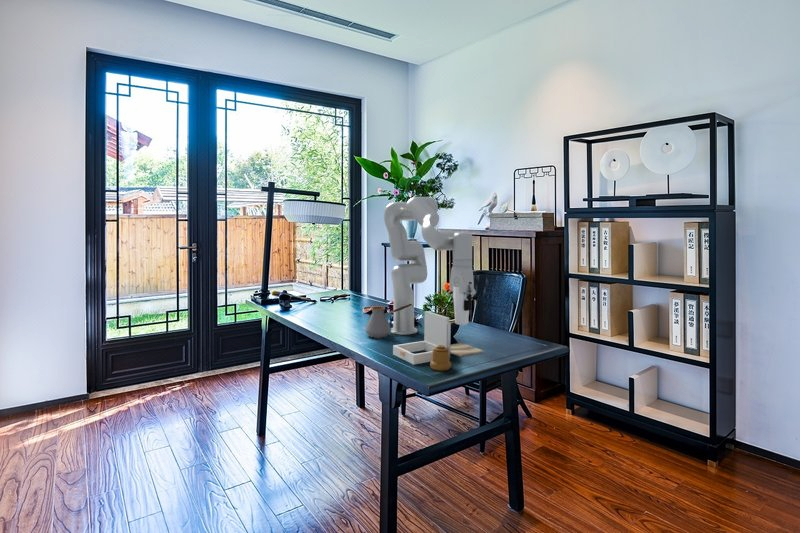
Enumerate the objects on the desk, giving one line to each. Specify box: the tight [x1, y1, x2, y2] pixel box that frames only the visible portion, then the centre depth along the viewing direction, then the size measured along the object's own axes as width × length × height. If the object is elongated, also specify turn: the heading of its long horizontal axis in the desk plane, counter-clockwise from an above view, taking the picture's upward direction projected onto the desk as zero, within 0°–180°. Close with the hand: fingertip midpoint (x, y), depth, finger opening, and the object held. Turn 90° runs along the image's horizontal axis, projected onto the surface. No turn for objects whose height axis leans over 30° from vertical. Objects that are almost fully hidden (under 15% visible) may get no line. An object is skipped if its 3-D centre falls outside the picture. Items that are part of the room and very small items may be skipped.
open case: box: [392, 310, 452, 366], centre depth 180 cm, size 16×16×16 cm
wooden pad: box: [450, 342, 485, 358], centre depth 190 cm, size 14×12×1 cm
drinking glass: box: [452, 287, 470, 326], centre depth 188 cm, size 7×7×15 cm
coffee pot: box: [364, 304, 413, 339], centre depth 211 cm, size 21×12×15 cm, turn 85°
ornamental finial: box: [429, 345, 452, 372], centre depth 167 cm, size 8×8×8 cm
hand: (461, 308), depth 188 cm, fingers closed on drinking glass, 6 cm apart
